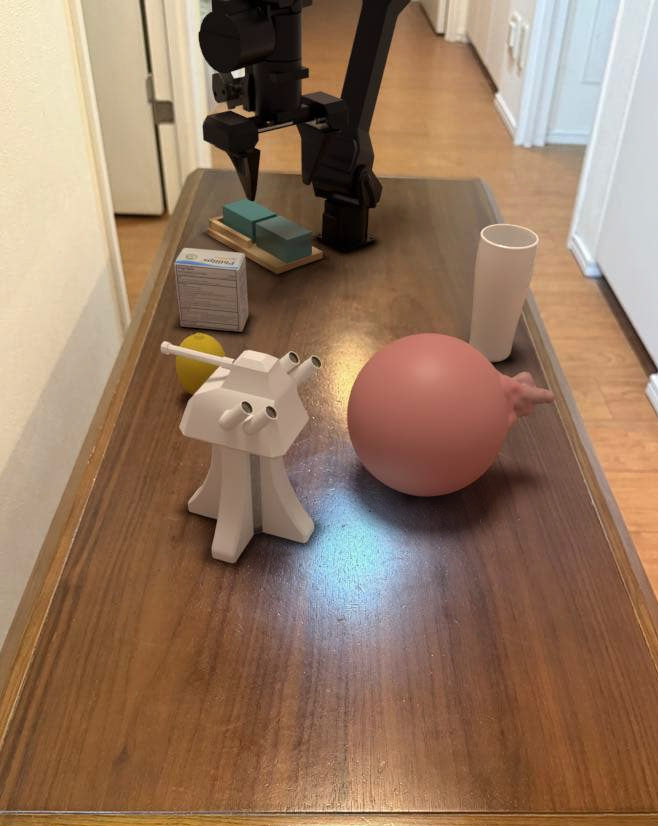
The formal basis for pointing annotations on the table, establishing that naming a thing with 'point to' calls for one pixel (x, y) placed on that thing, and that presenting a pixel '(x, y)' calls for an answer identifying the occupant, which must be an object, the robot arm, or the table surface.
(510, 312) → the drinking glass
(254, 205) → the teal rectangular block
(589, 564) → the table surface
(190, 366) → the lemon
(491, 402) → the balloon
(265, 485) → the toy gun turret
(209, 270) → the medicine box
